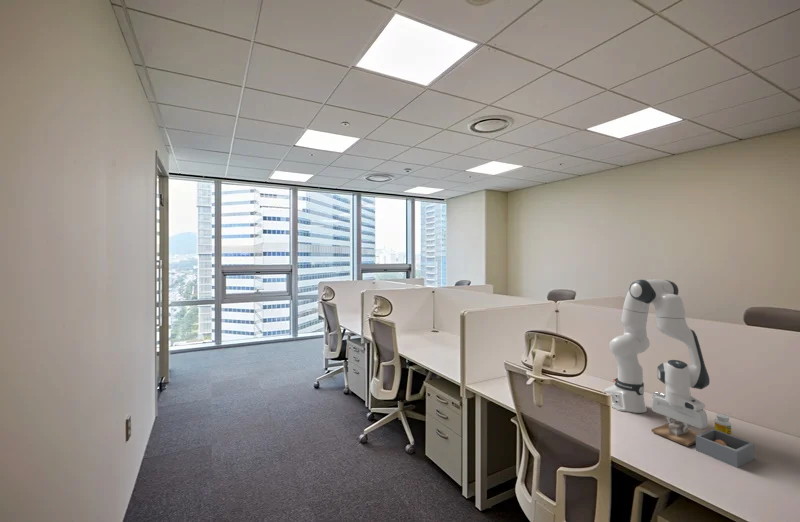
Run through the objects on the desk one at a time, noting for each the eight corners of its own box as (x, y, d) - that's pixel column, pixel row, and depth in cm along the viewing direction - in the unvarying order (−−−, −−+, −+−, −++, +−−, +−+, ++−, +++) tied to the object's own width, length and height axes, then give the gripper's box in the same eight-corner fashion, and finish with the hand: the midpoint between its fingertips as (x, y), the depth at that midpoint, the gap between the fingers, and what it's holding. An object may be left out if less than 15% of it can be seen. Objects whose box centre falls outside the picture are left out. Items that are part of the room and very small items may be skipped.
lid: (651, 431, 156) (651, 420, 156) (670, 424, 161) (669, 413, 161) (687, 446, 143) (687, 434, 143) (706, 438, 149) (706, 427, 148)
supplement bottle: (716, 433, 156) (716, 412, 156) (733, 438, 151) (732, 416, 151) (713, 437, 153) (712, 415, 153) (729, 442, 148) (729, 420, 148)
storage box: (695, 452, 141) (695, 435, 141) (713, 445, 146) (713, 428, 146) (737, 470, 129) (736, 451, 129) (754, 461, 134) (754, 443, 134)
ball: (711, 448, 142) (711, 438, 142) (716, 446, 144) (716, 436, 143) (723, 453, 138) (723, 443, 138) (728, 451, 140) (728, 441, 140)
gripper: (648, 391, 160) (648, 421, 160) (701, 408, 141) (701, 442, 142) (656, 389, 163) (657, 418, 163) (709, 405, 144) (710, 438, 144)
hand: (678, 429), depth 152 cm, fingers closed on lid, 3 cm apart
